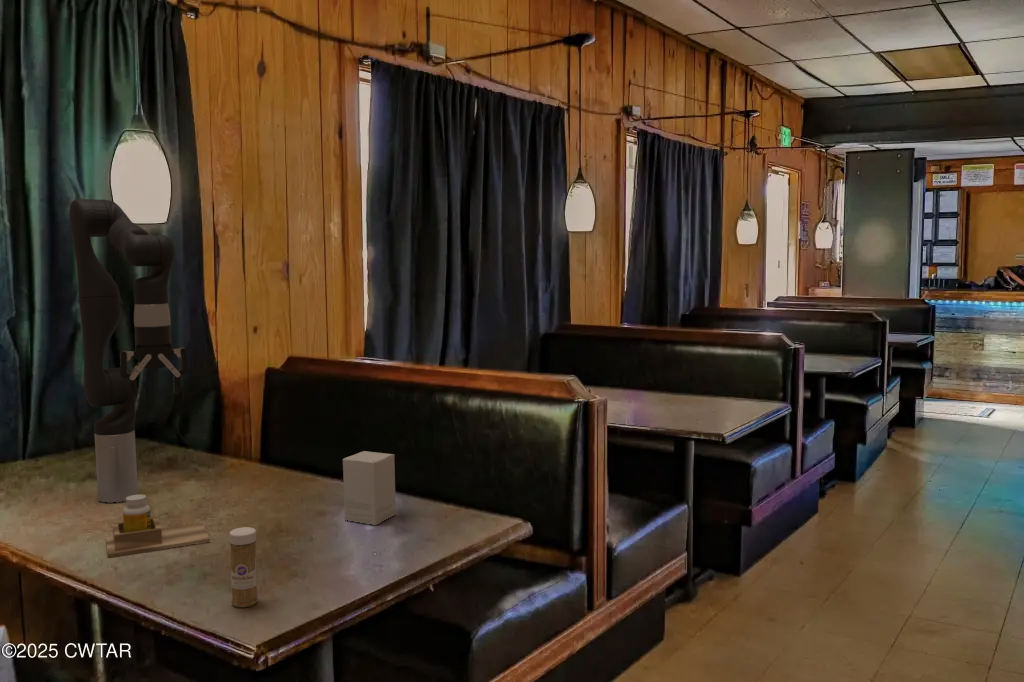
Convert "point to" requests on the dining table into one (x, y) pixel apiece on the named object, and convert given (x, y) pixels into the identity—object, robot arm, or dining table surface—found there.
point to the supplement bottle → (136, 514)
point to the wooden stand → (153, 538)
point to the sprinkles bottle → (243, 566)
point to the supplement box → (369, 487)
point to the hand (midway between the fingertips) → (155, 394)
